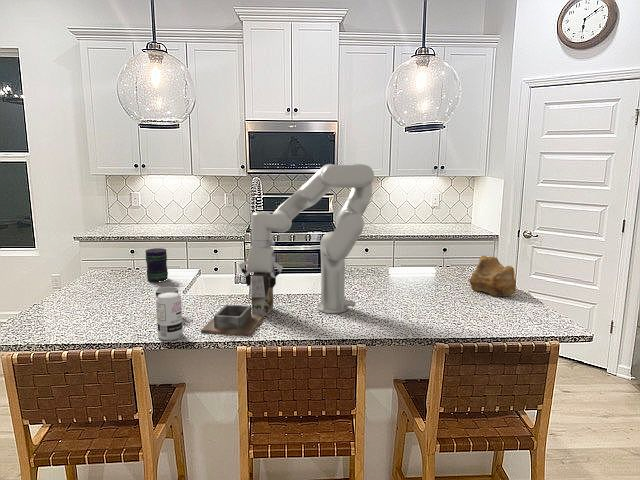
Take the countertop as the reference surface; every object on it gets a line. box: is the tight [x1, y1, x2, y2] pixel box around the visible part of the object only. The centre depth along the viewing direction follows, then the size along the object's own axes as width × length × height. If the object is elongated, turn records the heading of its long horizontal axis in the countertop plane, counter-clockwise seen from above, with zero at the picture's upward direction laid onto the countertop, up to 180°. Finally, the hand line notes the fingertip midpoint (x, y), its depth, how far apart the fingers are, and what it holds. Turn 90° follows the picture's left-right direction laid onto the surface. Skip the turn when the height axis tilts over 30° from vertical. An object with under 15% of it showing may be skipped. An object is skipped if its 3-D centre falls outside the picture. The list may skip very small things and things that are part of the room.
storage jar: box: [145, 247, 169, 283], centre depth 239 cm, size 10×10×15 cm
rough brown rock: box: [468, 255, 517, 298], centre depth 223 cm, size 23×17×15 cm
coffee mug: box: [154, 286, 180, 298], centre depth 189 cm, size 12×9×10 cm
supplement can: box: [155, 292, 184, 341], centre depth 168 cm, size 8×8×15 cm
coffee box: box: [250, 272, 274, 317], centre depth 193 cm, size 9×6×16 cm
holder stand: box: [200, 304, 264, 336], centre depth 180 cm, size 18×18×6 cm
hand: (260, 286), depth 193 cm, fingers open, 9 cm apart
